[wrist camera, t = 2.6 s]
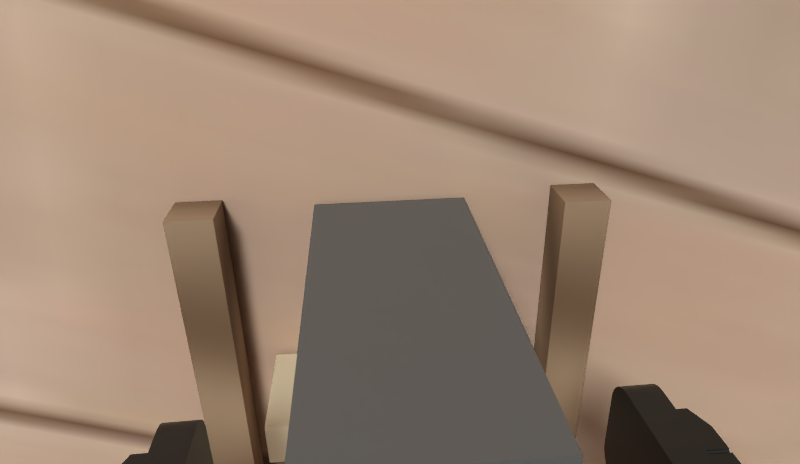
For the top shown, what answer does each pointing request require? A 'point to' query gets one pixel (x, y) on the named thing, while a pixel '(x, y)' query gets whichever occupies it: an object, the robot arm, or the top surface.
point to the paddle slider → (410, 349)
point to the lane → (224, 341)
